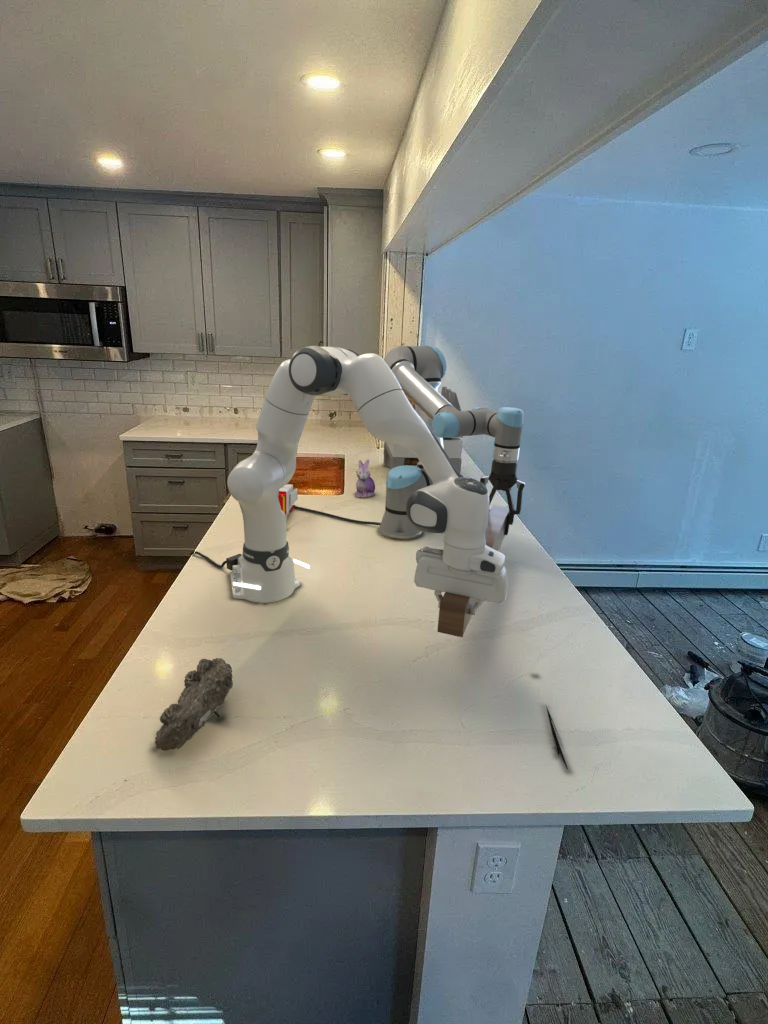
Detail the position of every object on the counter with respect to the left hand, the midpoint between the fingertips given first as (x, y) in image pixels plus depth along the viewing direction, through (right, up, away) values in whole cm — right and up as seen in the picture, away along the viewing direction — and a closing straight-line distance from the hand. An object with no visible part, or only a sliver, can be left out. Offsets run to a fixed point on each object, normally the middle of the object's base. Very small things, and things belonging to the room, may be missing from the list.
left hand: (457, 610), depth 126 cm
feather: (+16, -19, -14) cm, 29 cm away
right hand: (+19, +16, +52) cm, 57 cm away
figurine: (-24, +29, +114) cm, 120 cm away
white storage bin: (+1, +41, +149) cm, 155 cm away
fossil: (-51, -17, -18) cm, 57 cm away
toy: (-56, +20, +85) cm, 104 cm away
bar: (+9, +6, +26) cm, 29 cm away
